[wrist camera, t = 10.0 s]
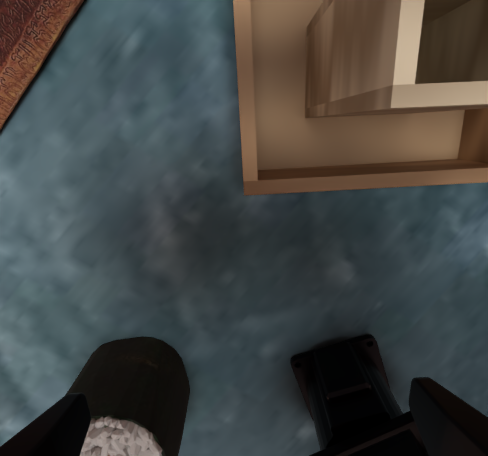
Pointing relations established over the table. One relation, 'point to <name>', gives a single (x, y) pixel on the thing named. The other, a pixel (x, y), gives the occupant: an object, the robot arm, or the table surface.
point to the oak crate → (335, 121)
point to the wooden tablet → (27, 43)
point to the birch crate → (396, 57)
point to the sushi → (134, 398)
